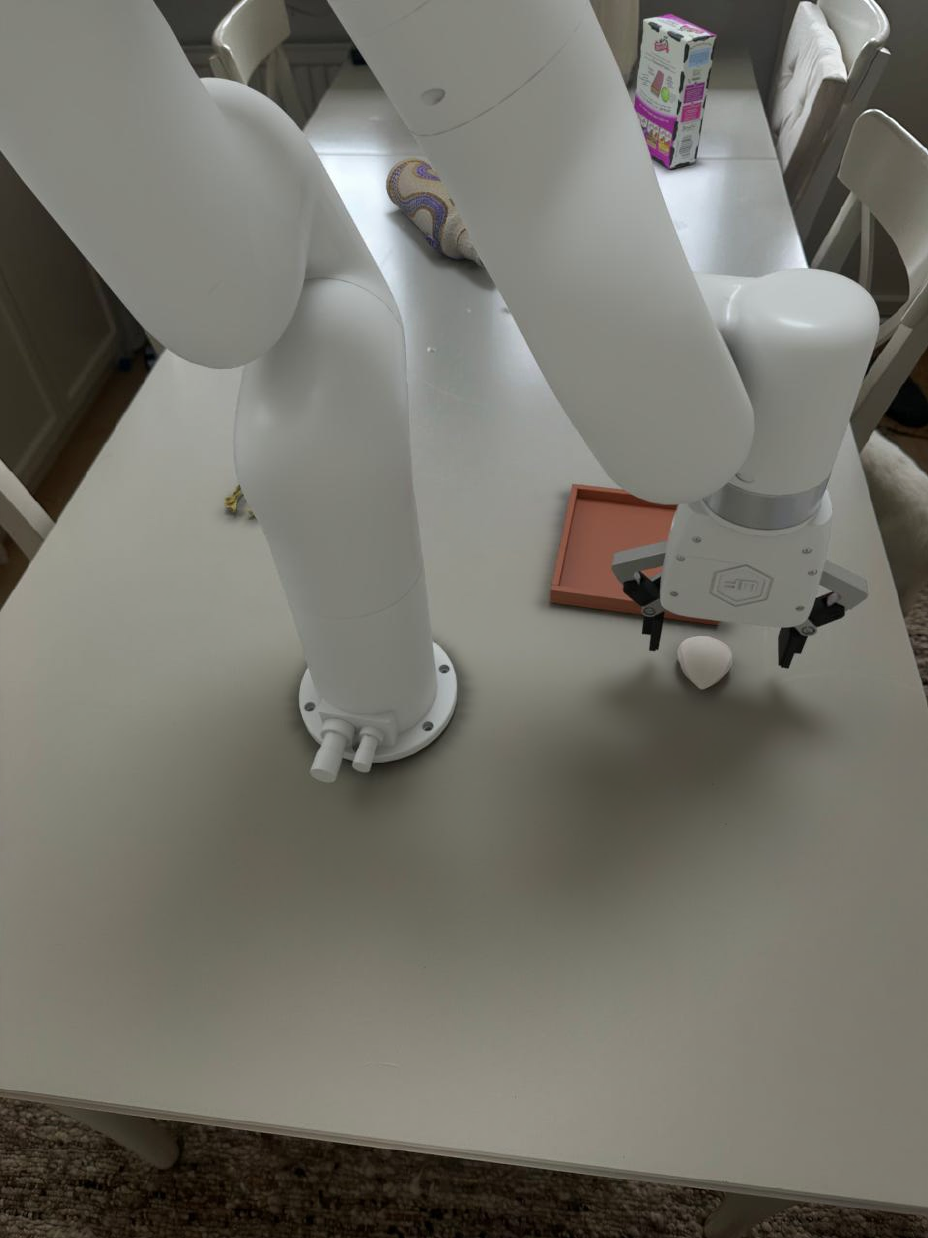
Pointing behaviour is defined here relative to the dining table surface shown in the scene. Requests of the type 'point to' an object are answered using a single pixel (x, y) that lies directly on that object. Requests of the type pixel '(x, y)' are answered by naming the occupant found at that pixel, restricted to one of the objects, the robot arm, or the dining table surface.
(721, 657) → the white rounded flat piece
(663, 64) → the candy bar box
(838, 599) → the robot arm
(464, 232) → the decorative bottle
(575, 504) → the tray
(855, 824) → the dining table surface
